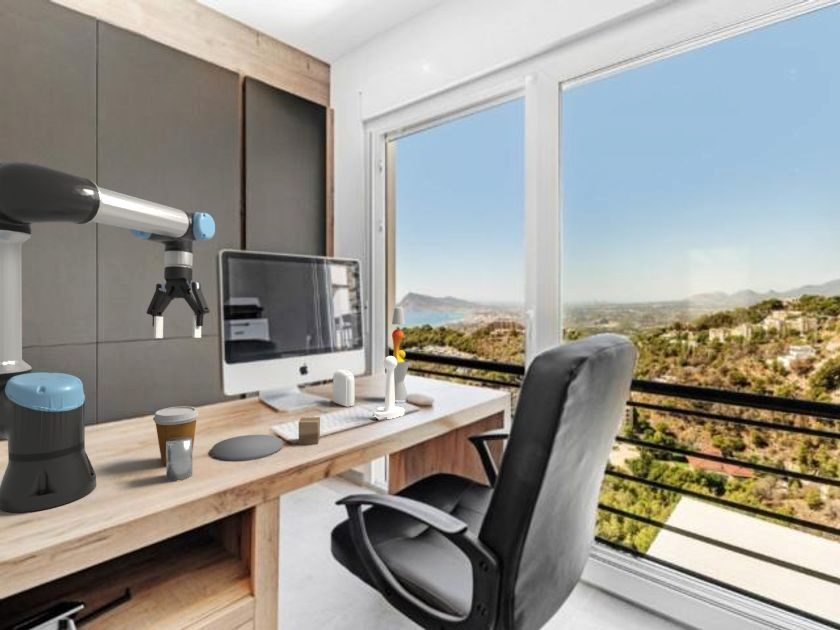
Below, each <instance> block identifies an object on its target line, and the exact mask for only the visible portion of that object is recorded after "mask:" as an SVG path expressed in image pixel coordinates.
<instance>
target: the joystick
mask: <svg viewBox="0 0 840 630" xmlns="http://www.w3.org/2000/svg"><path fill="white" fill-rule="evenodd" d="M383 366H384V368H385V370H386V376H385V378H386V379H385V391H384V393H385V394H384V406H379V407H377V408H376V411H372V415H373V414H374V415H376V416H377V417H387V419H391V420H393V419H392V418H395V419H397V418H396V417H399V416H401V417H403V415H404V416H405V408H404V407H400V406H396V403H395V388H394V369H395V368H396V366H397V360H396V358H395V357H393V355H388V356H386V357H385V358H384V359H383ZM399 418H400V417H399Z"/></svg>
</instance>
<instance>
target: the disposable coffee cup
mask: <svg viewBox="0 0 840 630" xmlns="http://www.w3.org/2000/svg"><path fill="white" fill-rule="evenodd" d="M198 416H199V412H198V410H197V408H196V407H194V406H185V405H184V406H182V405H181V406H173V407H172V406H170V407H167V408H161V409H159V410H157V411H156V412H155V413H154V416H153V418H152V420H153V421H154V424H155V427H156V434H157V441H158V447H159V452H160V454H159V455H160V459H161V464H162V465H164V466H166V441H167V440H169V439H172V438H176V437H191V438H192V452H193V449H194V443H195V442H194V441H195V435H196V427H197V425H196V424H197V419H198Z"/></svg>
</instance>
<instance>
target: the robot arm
mask: <svg viewBox="0 0 840 630" xmlns="http://www.w3.org/2000/svg"><path fill="white" fill-rule="evenodd" d="M92 222H93V223H97V224H102V225H107V226H108V225H109V226H114V227H119V228H123V229H128V230H129V233H130V234H131V235H132V236H134V238H135V237H136V238H138V239H141V240H142V241H149V242H152V243H153V242H154V243H157V244H160V245H161V244H162V245H164V266H165V268H164V276H163V278H164V280H165V284H164V283H163V284H162V283H156V285H155V291H154V294H153V297H152V299H151V301H150V303H149V306H148V307H147V310H146V314H147V315H150V316H152V327H153V339H164V316H163V315H162V314H163V313H164V312H165V310H166V309H167V308H168V306H169V305H171V302H172V301H173V300H174V299H184V301H185V302H186V303H187V305H189V307H190V309H191V310H192V312H193V313H194V314H193V315H192V338H193V339H194V338H196V339H199V338H202V327H203V326H204V316H205V314H209V313H210V307H209V306H208V303H207V301H206V299H205V296H204V294H203V291H202V287H201V286H202V284H201V283H200V282H197V281H193V270H194V269H192V268H193V259H194V257H193V253H194V251H193V248H194V247H193V245H194V242H198V241H199V242H201V241H209V240H211V239H212V238H213V237H214V235H215V233H216V224H215V220H214V219H213V217H212V215H210V213H207V212H198V211H196V212H191V211H186V210H183V209H179V208H175V207H171V206H168V205H165V204H160V203H158V202H153V201H150V200H147V199H142V198H139V197H135V196H131V195H130V194H129V195H128V194H124V193H121V192H117V191H115V190H114V191H113V190H110V189H108V188H107V189H106V188H103V187H100V186H98V185H97V184H96V183H95V182H94V181H93V180H92V179H89V178H86V177H82V176H79V175H75V174H72V173H69V172H66V171H63V170H59V169H56V168H52V167H48V166H45V165H41V164H37V163H31V162H25V161H10V162H1V163H0V439H1V440H7V453H8V454H7V456H8V457H7V458H8V460H7V461H8V463H7V466H6V468H5V470H4V473H3V476H2V479H1V482H0V510H1V511H4V512H9V513H27V512H34V511H40V510H41V511H42V510H46V509H51V508H55V506H56V507H58V506H63V505H66V504H68V503H72V502H74V501H77V500H79V499H81V498H83V497H85V496H87V495H89V494H91V492H93V491H95V489H96V487H97V475H96V472H95V470H94V467H93V465H92V462H91V460H90V458H89V455H88V454H87V451H86V444H85V443H86V441H85V434H86V433H85V430H86V429H85V420H86V419H85V416H86V415H85V402H86V401H85V400H86V395H85V393H84V384H83V382H82V380H81V379H80V378H79V377H77V376H75V375H72V374H68V373H61V372H33V371H32V370H33V369H32V368H33V367H32V366H31V365H30V364H28V363H27V362H26V361H24V360H23V321H22V319H23V309H22V308H23V304H22V301H23V300H22V295H23V293H22V288H23V286H22V280H23V279H22V278H23V277H22V273H23V272H22V262H23V261H22V246H23V243H25V242H26V241H28V240H29V239H30V238H31V237H32V224H40V223H41V224H43V223H71V224H77V225H87V224H90V223H92ZM191 290H192V292H191Z"/></svg>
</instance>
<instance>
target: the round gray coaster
mask: <svg viewBox="0 0 840 630" xmlns="http://www.w3.org/2000/svg"><path fill="white" fill-rule="evenodd" d="M283 442H284V441H283V440H282V438H279V437H277V436H274V435H270V434H248V435H247V434H246V435H239V436H234V437H230V438H227V439H224V440H221V441H218V442H217V443H215V444H214V445H213V446H212V447H211V455H212V456H213V457H214V458H216V459H219V460H222V461H230V462H243V461H244V462H245V461H251V460H253V459H254V460H259V459H263V457H264V458H266V456H267V457H270V456H273V455H275V454H277V453H278V451H279V452H280V451H281V450H283V447H284V443H283ZM274 453H275V454H274ZM272 454H273V455H272ZM269 455H270V456H269Z"/></svg>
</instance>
